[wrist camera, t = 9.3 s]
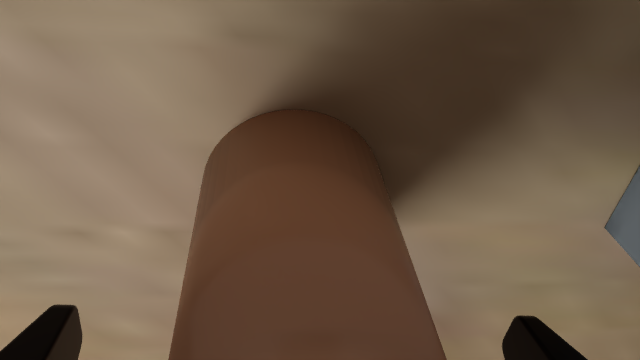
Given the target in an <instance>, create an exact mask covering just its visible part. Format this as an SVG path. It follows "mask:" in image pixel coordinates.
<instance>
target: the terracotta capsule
mask: <svg viewBox="0 0 640 360" xmlns="http://www.w3.org/2000/svg"><path fill="white" fill-rule="evenodd" d="M168 360H447V359H446V356H445V354H444V351H443V348H442V345H441V342H440V340H439V337H438V334H437V331H436V328H435V325H434V323H433V320H432V317H431V314H430V311H429V309H428V306H427V303H426V300H425V297H424V294H423V292H422V289H421V286H420V283H419V280H418V277H417V275H416V272H415V269H414V266H413V263H412V261H411V258H410V255H409V252H408V249H407V246H406V244H405V241H404V238H403V235H402V232H401V229H400V227H399V224H398V221H397V218H396V215H395V213H394V210H393V207H392V204H391V201H390V198H389V196H388V193H387V190H386V187H385V184H384V182H383V179H382V176H381V173H380V170H379V167H378V165H377V162H376V159H375V156H374V154H373V152H372V151H371V149H370V147H369V146H368V144H367V143H366V141H365V140H364V139H363V138H362V137H361V136H360V135H359V134H358V133H357V132H356V131H355V130H354V129H352V128H351V127H350V126H348V125H347V124H345V123H343V122H341V121H340V120H338V119H336V118H333V117H331V116H328V115H326V114H322V113H318V112H314V111H307V110H281V111H274V112H270V113H265V114H262V115H259V116H256V117H254V118H251V119H249V120H247V121H245V122H243V123H241V124H240V125H238V126H237V127H235V128H234V129H232V130H231V131H230V132H229V133H228V134H227V135H225V136H224V137H223V138H222V139H221V141H220V142H219V143H218V144H217V145H216V147H215V148H214V150H213V151H212V153H211V155H210V156H209V159H208V161H207V164H206V166H205V170H204V175H203V180H202V185H201V190H200V195H199V201H198V206H197V211H196V217H195V222H194V227H193V232H192V238H191V243H190V248H189V254H188V259H187V264H186V269H185V275H184V280H183V285H182V291H181V296H180V301H179V306H178V312H177V317H176V322H175V328H174V333H173V338H172V343H171V349H170V354H169V359H168Z"/></svg>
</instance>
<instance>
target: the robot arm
mask: <svg viewBox="0 0 640 360" xmlns="http://www.w3.org/2000/svg"><path fill="white" fill-rule="evenodd" d="M81 344H82V329H81V324H80V319H79V313H78V309H77V307H76V306H74V305H53V306H51V307H50V308H48V309H47V310H46V311H45V312H44V313H43V314H42V315H40V316H39V317H38V318H37V319H36V320H35V321H34V322H33V323H31V324H30V325H29V326H28V327H27V328H26V329H25V330H24V331H23V332H21V333H20V334H19V335H18V336H17V337H16V338H15V339H14V340H12V341H11V342H10V343H9V344H8V345H7V346H6V347H5V348H3V349H2V350H1V351H0V360H78V357H79V353H80V349H81ZM502 349H503V354H504V358H505V360H587V359H586V358H585V357H584V356H583V355H581V354H580V353H579V352H578V351H577V350H575V349H574V348H573V347H572V346H571V345H569V344H568V343H567V342H566V341H565V340H563V339H562V338H561V337H560V336H559V335H557V334H556V333H555V332H554V331H553V330H551V329H550V328H549V327H548V326H547V325H545V324H544V323H543V322H542V321H541V320H539V319H538V318H537V317H534V316H516V317H515V318H514V319H513V321H512V323H511V325H510V327H509V329H508V331H507V333H506V335H505V337H504V339H503V343H502Z"/></svg>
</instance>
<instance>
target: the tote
mask: <svg viewBox="0 0 640 360" xmlns="http://www.w3.org/2000/svg"><path fill="white" fill-rule="evenodd" d="M605 229H606V230H607V231H608V232H609V233H610V234H611V236H612V237H613V238H614V239H615V240H616V241H617V242H618V243H619V244H620V246H621V247H622V248H623V249H624V250H625V251H626V252H627V253H628V255H629V256H630V257H631V258H632V259H633V260H634V261H635V262H636V263H637V265H638V266H639V267H640V167H639V168H638V170H637V172H636V174H635V175H634V177H633V179H632V181H631V182H630V184H629V186H628V188H627V189H626V191H625V193H624V195H623V196H622V198H621V200H620V202H619V203H618V205H617V207H616V209H615V210H614V212H613V214H612V216H611V217H610V219H609V221H608V223H607V224H606V226H605Z"/></svg>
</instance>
